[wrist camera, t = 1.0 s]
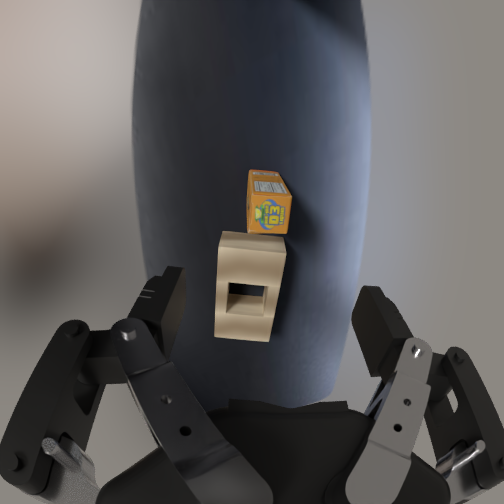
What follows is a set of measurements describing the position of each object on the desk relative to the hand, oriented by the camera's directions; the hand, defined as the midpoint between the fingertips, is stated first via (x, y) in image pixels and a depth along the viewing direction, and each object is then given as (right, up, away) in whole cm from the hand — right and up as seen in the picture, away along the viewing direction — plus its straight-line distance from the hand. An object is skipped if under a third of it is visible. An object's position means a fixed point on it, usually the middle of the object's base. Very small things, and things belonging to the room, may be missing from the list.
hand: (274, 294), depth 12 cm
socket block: (-2, -2, +23) cm, 23 cm away
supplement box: (0, +9, +18) cm, 20 cm away
